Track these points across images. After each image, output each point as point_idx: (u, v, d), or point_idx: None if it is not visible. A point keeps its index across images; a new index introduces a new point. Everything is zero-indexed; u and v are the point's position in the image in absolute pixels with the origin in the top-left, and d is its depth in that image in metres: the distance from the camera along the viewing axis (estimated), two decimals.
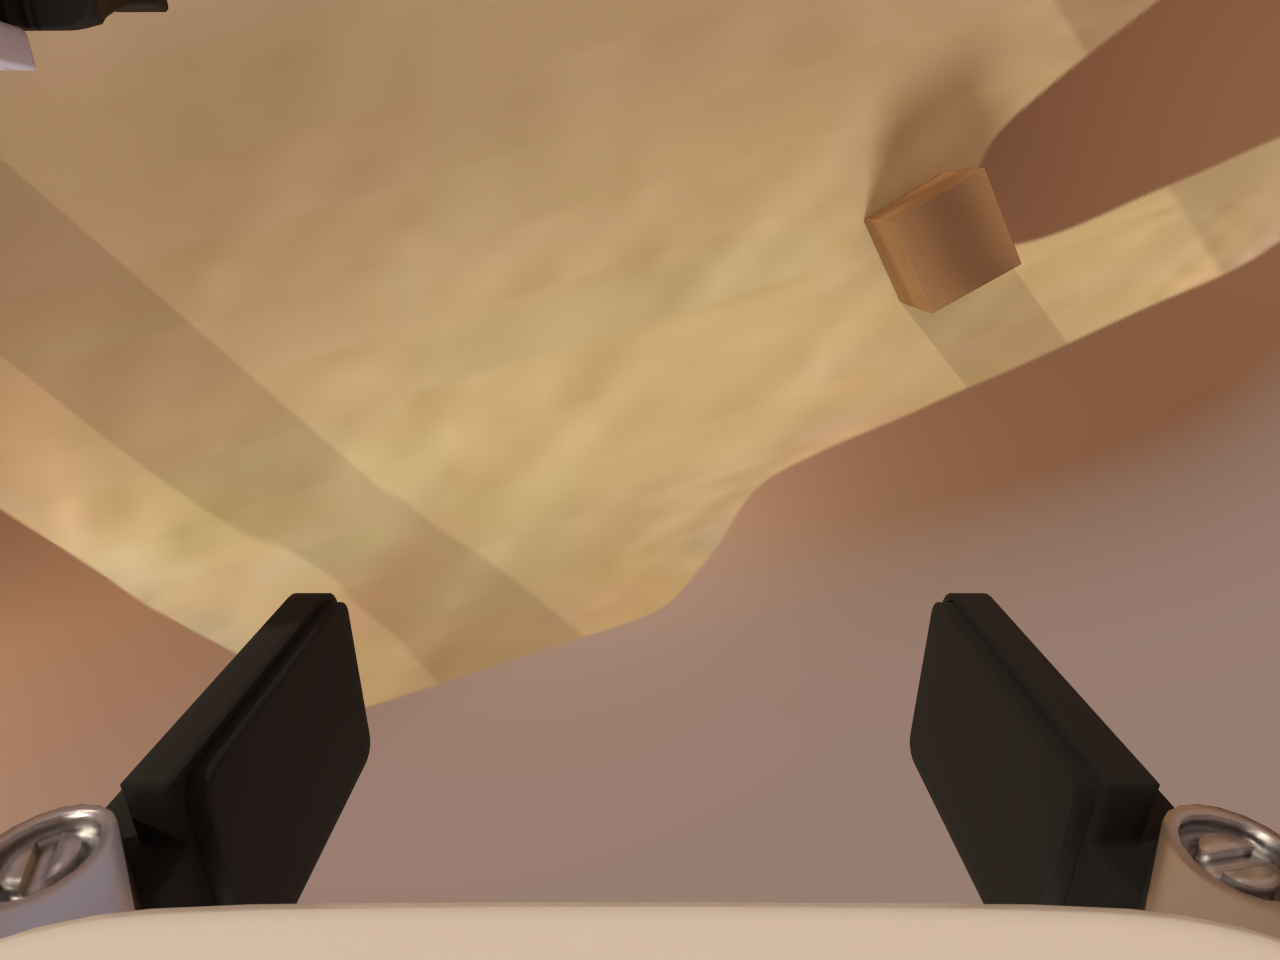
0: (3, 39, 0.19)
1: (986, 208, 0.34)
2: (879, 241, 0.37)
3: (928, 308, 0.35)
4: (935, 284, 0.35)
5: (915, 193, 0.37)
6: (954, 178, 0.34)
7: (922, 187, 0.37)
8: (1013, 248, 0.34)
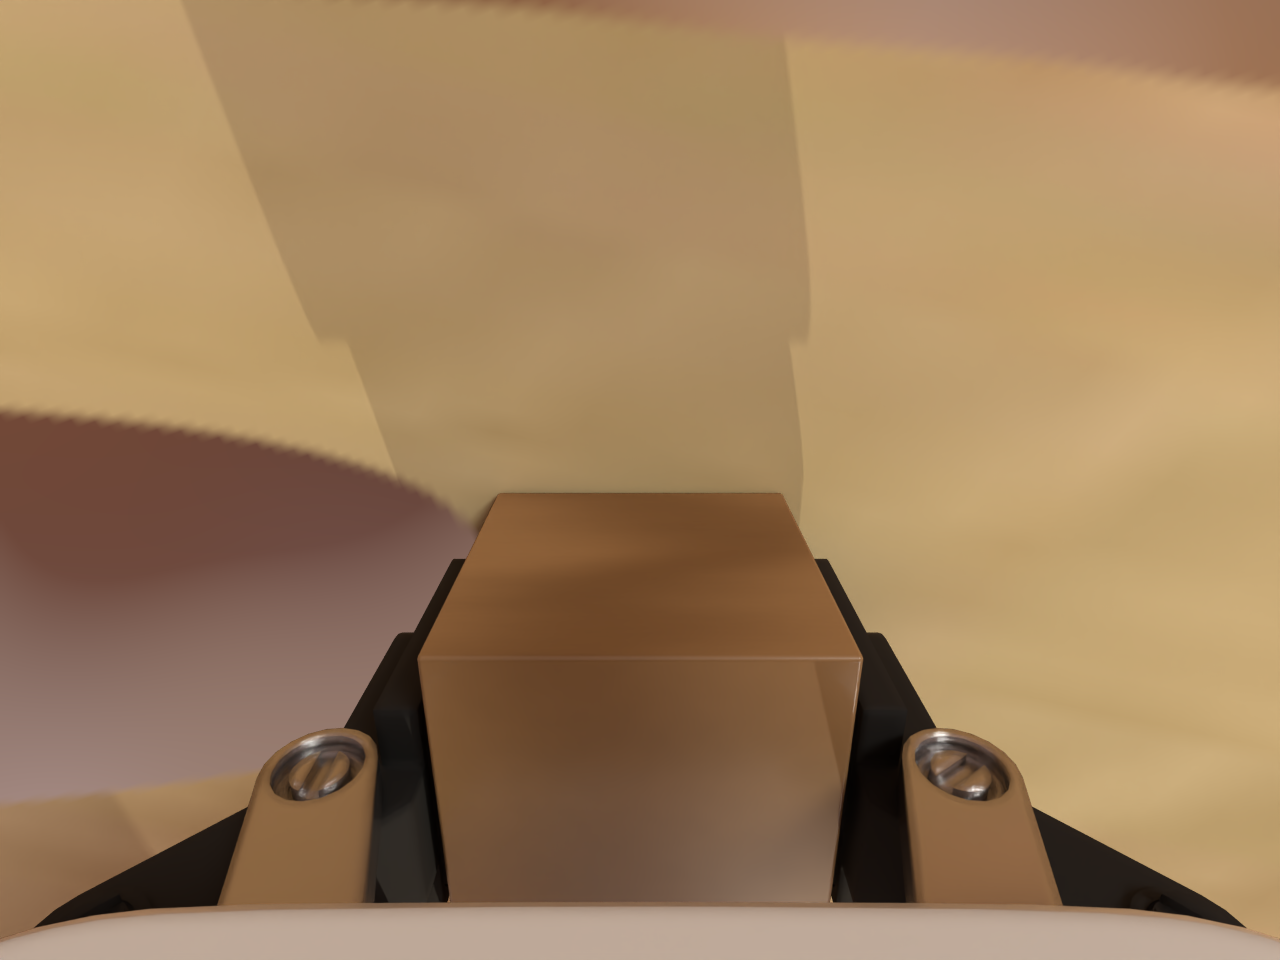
0: None
1: (494, 886, 0.09)
2: None
3: (857, 671, 0.08)
4: (786, 751, 0.08)
5: None
6: None
7: None
8: (434, 726, 0.08)
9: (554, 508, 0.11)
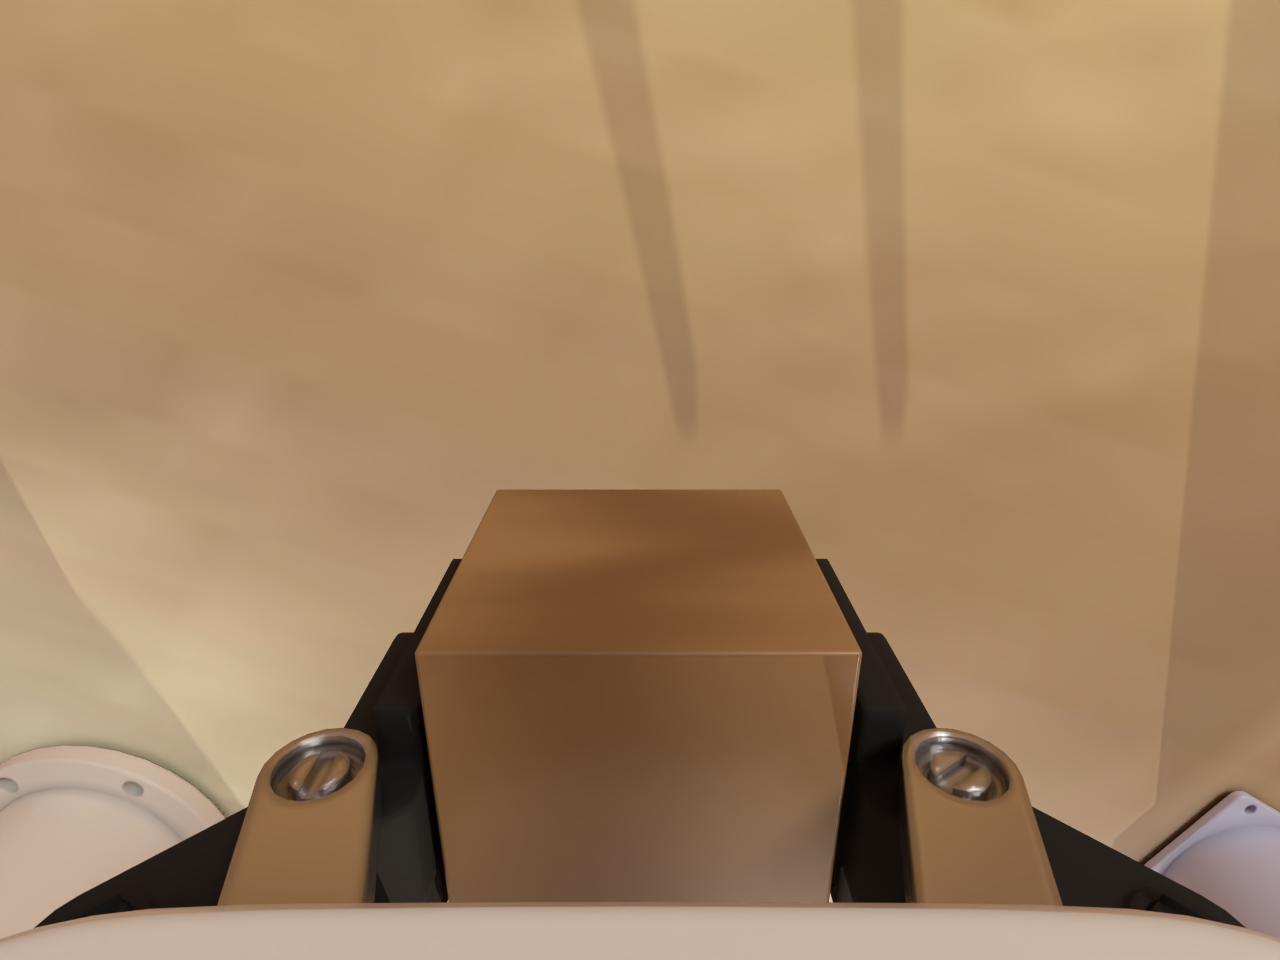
0: None
1: (493, 883, 0.09)
2: None
3: None
4: (786, 746, 0.08)
5: None
6: None
7: None
8: (431, 721, 0.08)
9: (553, 504, 0.11)
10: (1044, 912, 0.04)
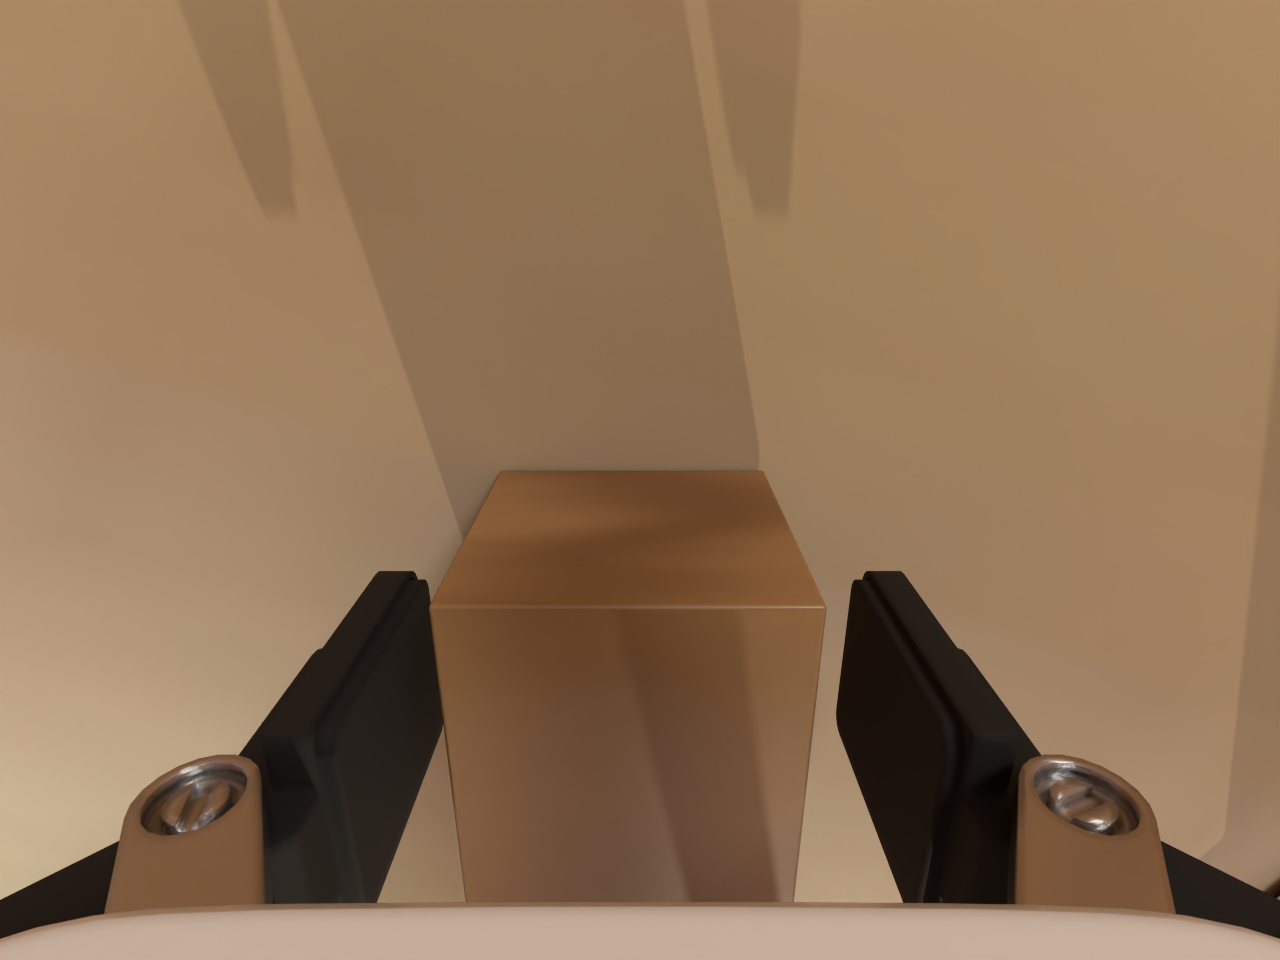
0: None
1: (497, 819, 0.09)
2: None
3: (822, 620, 0.09)
4: (759, 692, 0.09)
5: None
6: None
7: None
8: (443, 669, 0.09)
9: (552, 484, 0.12)
10: (1044, 912, 0.04)
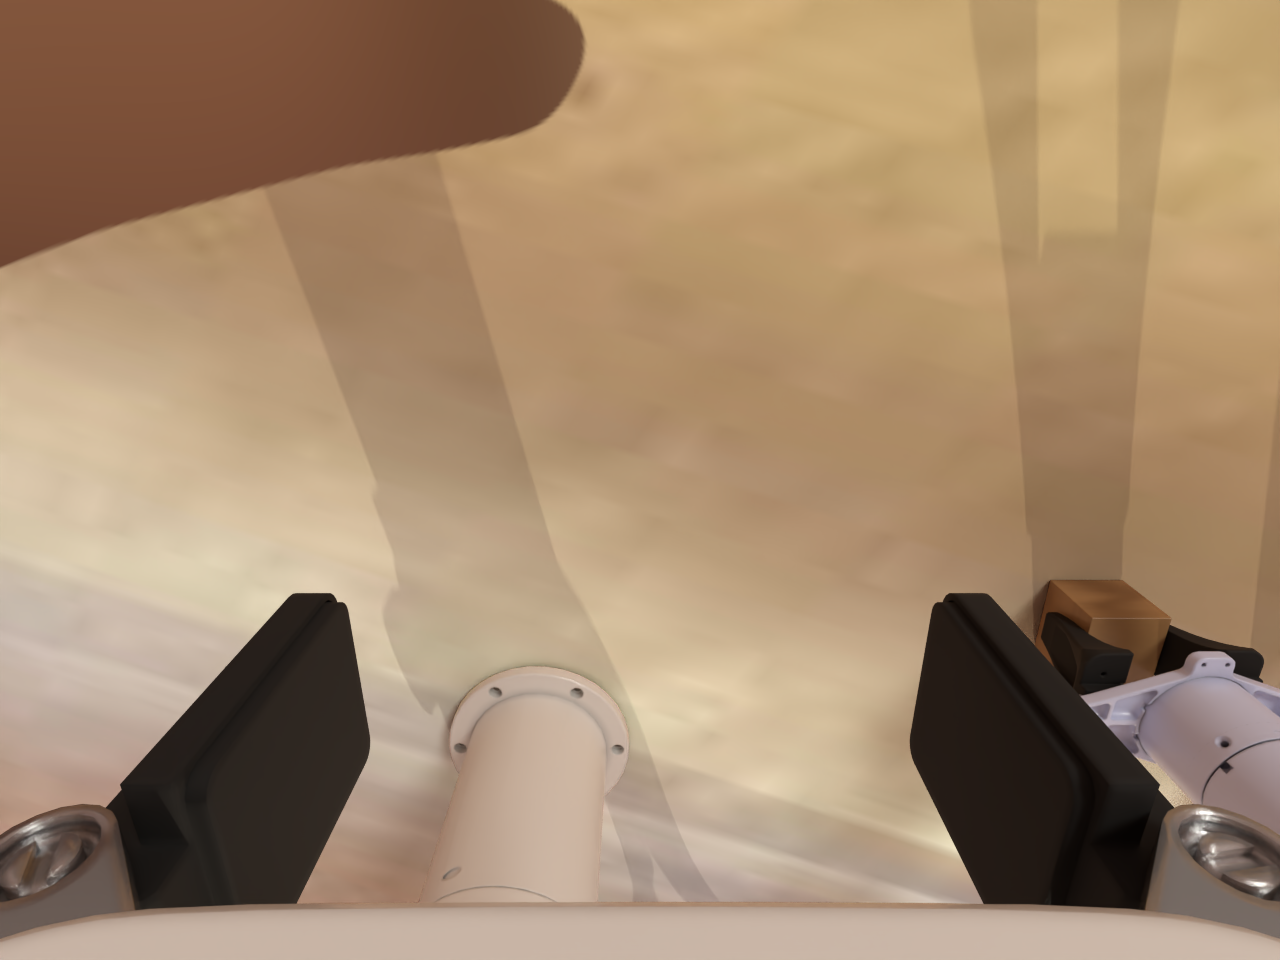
0: None
1: None
2: None
3: None
4: (1154, 636, 0.42)
5: None
6: None
7: None
8: (1090, 631, 0.42)
9: (1071, 585, 0.45)
10: (1044, 912, 0.04)
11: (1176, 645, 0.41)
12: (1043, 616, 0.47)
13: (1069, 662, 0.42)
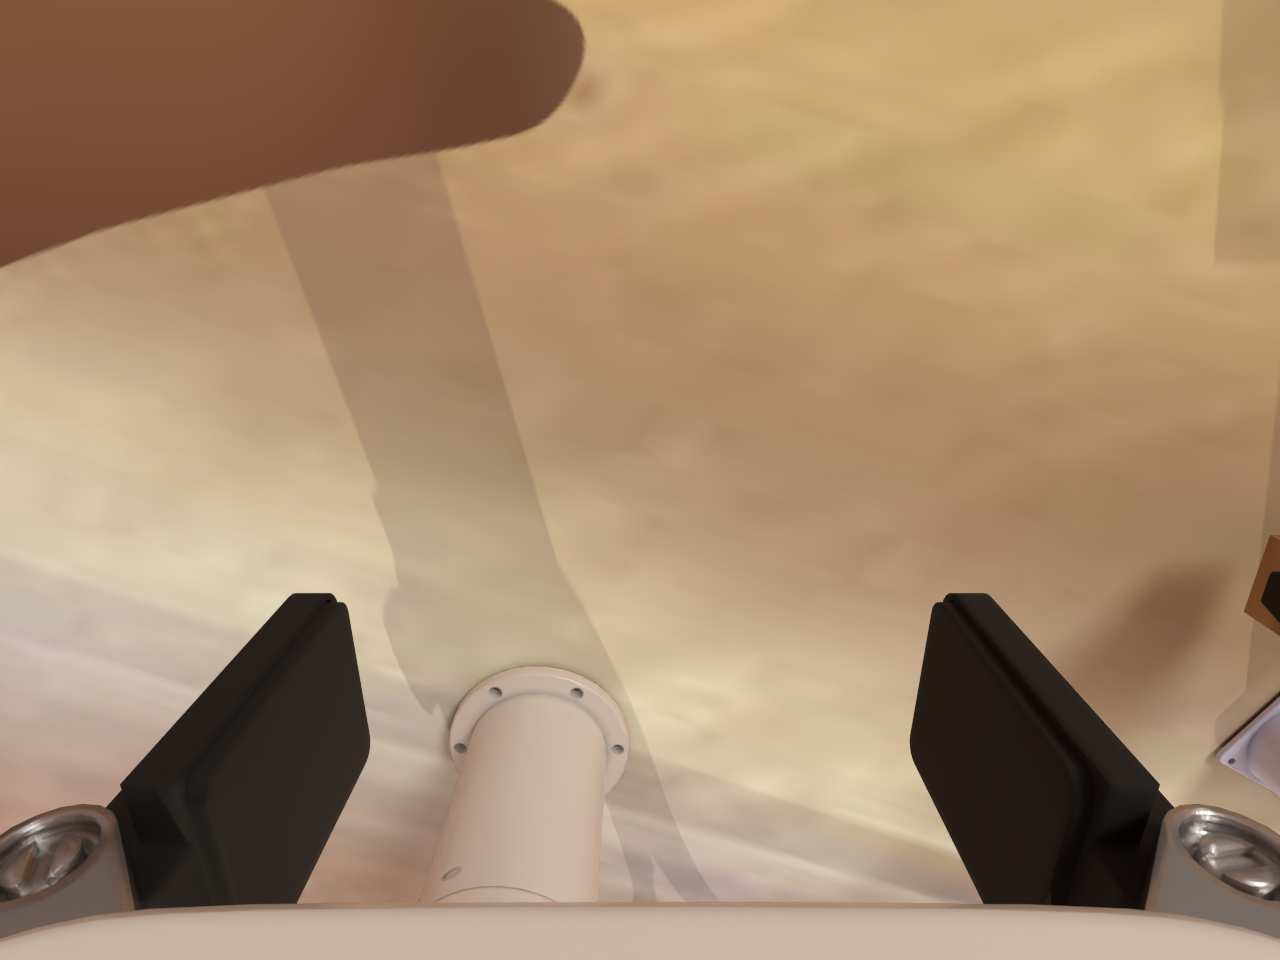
0: None
1: None
2: None
3: None
4: None
5: None
6: None
7: None
8: None
9: None
10: (1044, 912, 0.04)
11: None
12: (1258, 577, 0.41)
13: None
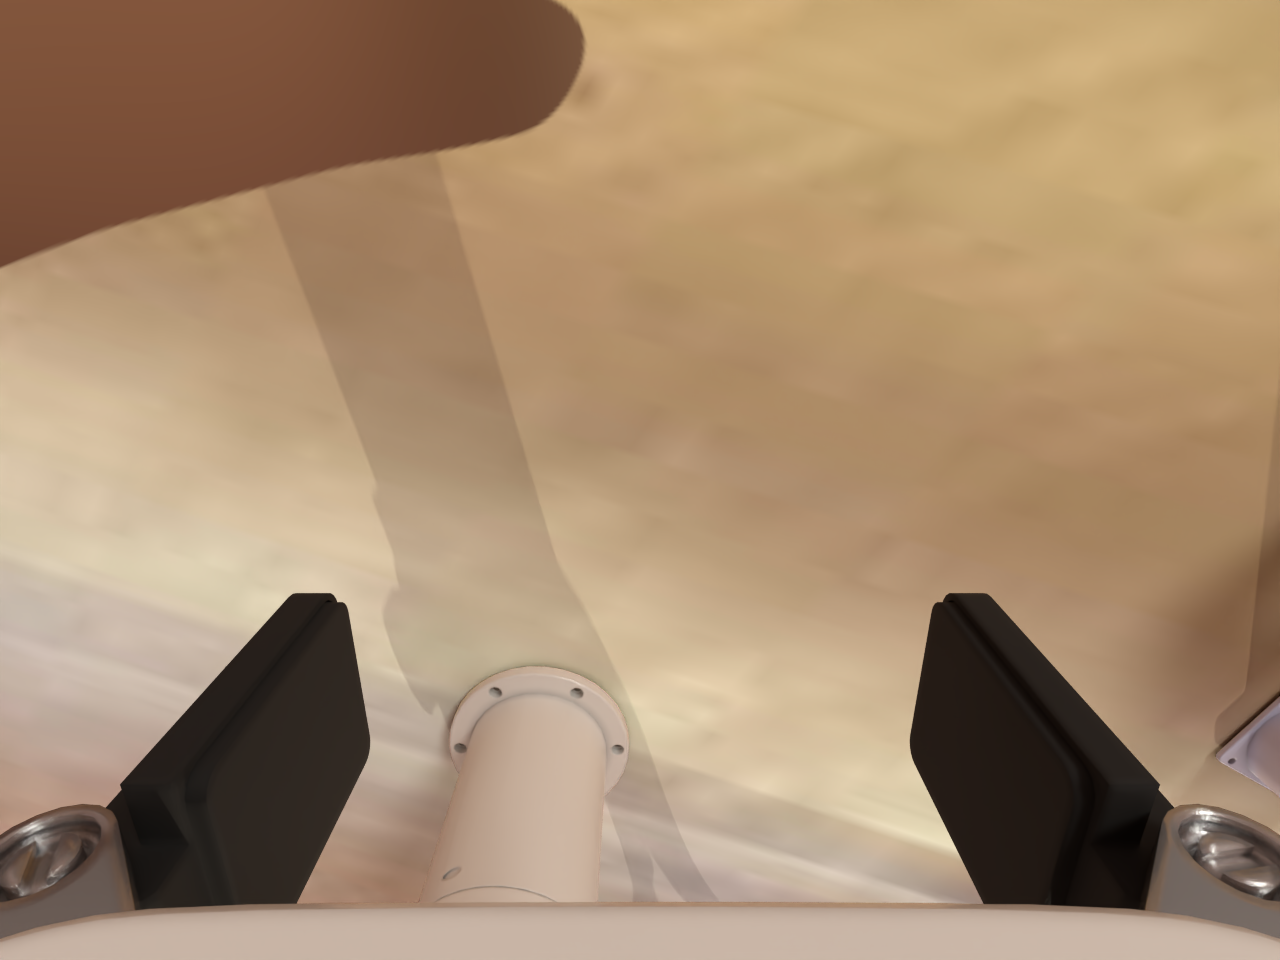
0: None
1: None
2: None
3: None
4: None
5: None
6: None
7: None
8: None
9: None
10: (1044, 912, 0.04)
11: None
12: None
13: None
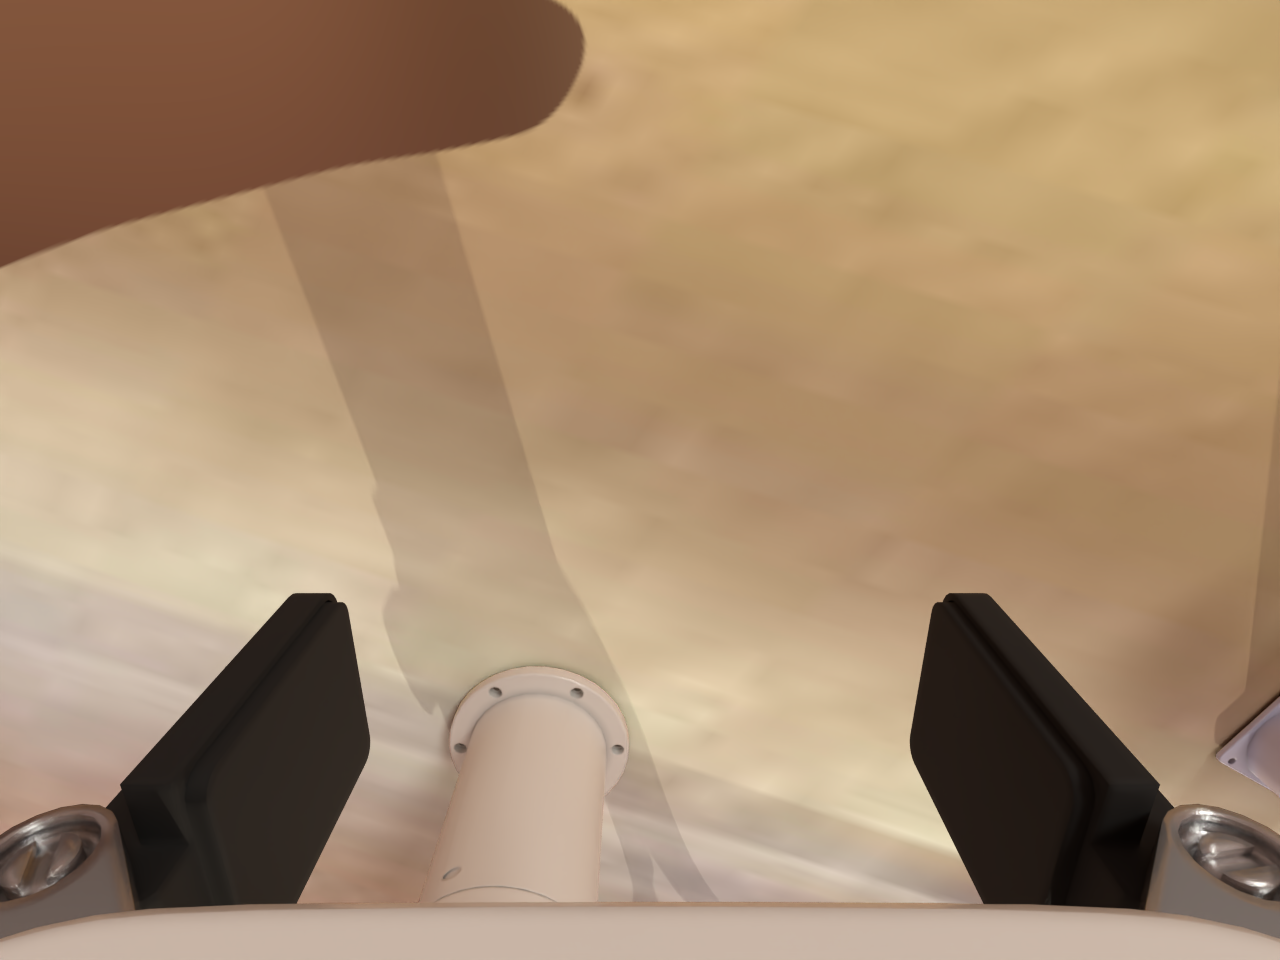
0: None
1: None
2: None
3: None
4: None
5: None
6: None
7: None
8: None
9: None
10: (1044, 912, 0.04)
11: None
12: None
13: None
